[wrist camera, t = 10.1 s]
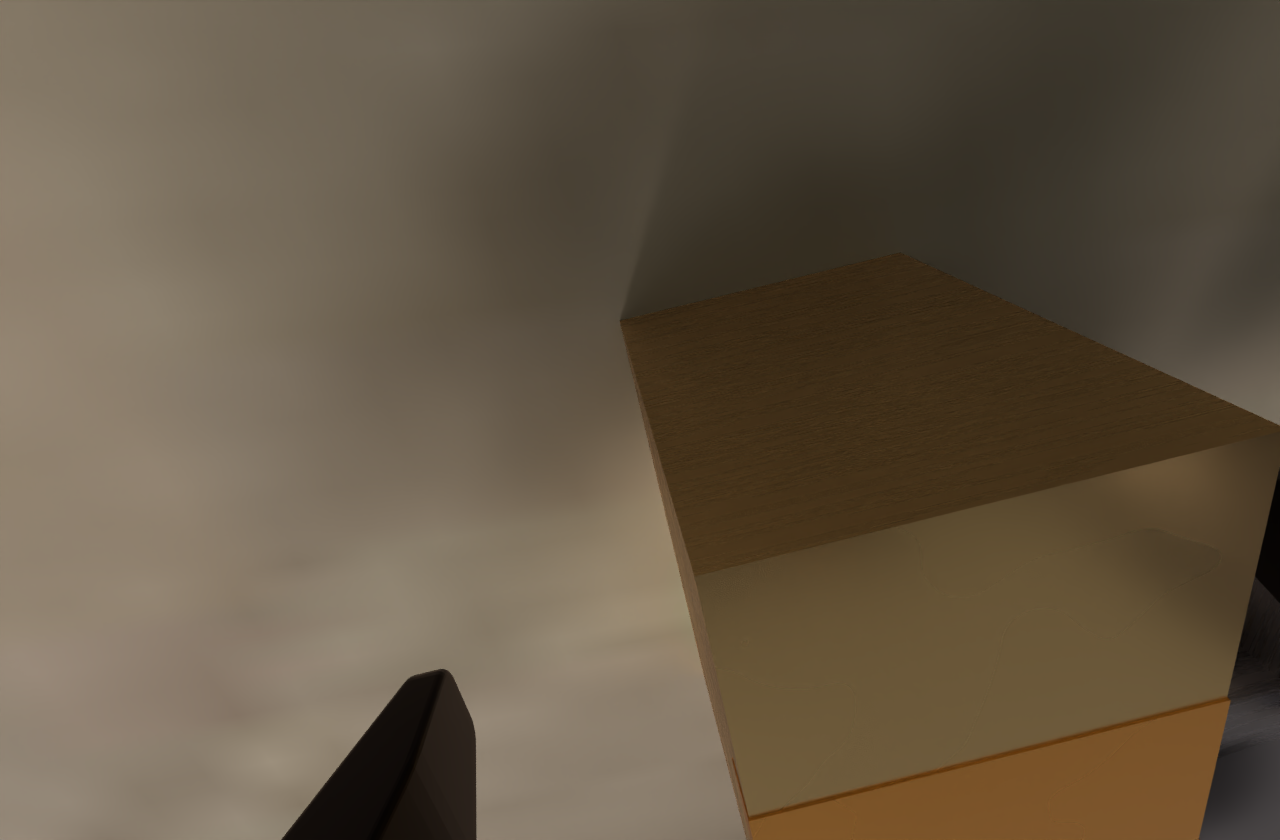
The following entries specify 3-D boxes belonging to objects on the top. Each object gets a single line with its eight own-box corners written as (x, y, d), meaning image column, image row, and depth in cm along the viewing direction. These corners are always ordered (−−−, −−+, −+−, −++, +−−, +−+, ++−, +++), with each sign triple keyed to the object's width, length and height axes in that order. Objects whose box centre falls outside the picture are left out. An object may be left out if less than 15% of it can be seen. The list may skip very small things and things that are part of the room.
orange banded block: (916, 619, 11) (1165, 979, 7) (702, 672, 11) (806, 1071, 7) (898, 251, 8) (1291, 430, 4) (618, 319, 8) (693, 579, 4)
